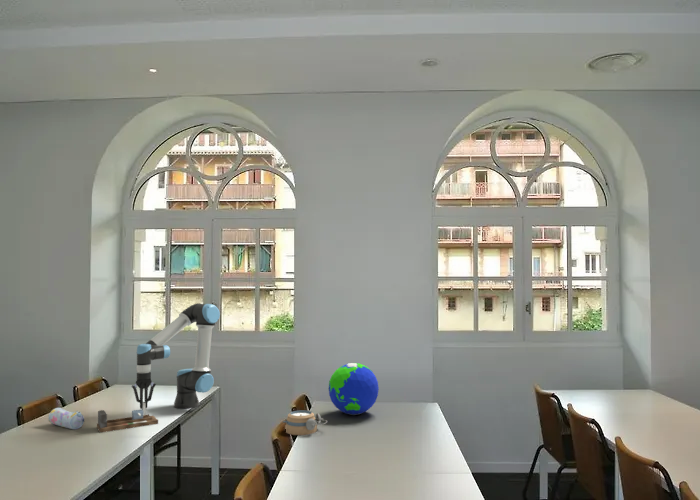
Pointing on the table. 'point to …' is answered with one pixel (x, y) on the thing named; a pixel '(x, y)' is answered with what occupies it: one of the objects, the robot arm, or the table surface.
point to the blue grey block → (137, 414)
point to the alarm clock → (302, 422)
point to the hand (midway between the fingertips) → (143, 414)
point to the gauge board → (122, 422)
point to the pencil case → (66, 418)
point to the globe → (353, 388)
